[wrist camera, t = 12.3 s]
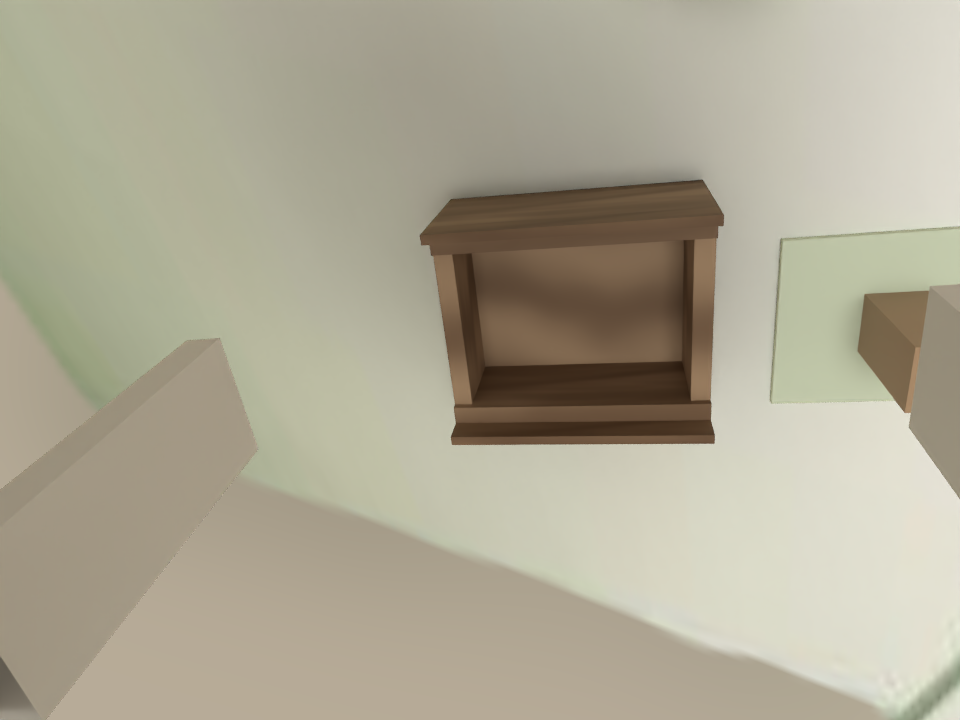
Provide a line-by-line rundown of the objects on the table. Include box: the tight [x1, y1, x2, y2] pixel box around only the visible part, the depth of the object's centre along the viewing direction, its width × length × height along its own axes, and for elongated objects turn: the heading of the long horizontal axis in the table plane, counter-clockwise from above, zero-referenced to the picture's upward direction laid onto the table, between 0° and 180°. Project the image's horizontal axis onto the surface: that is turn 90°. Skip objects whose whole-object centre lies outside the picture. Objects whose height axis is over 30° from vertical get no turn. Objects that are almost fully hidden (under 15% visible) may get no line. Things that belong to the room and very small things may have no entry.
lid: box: [770, 226, 960, 413], centre depth 35 cm, size 10×12×8 cm
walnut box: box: [420, 180, 724, 445], centre depth 37 cm, size 12×14×8 cm
